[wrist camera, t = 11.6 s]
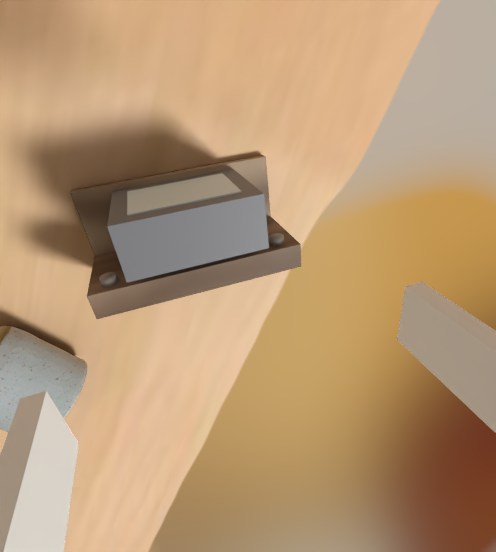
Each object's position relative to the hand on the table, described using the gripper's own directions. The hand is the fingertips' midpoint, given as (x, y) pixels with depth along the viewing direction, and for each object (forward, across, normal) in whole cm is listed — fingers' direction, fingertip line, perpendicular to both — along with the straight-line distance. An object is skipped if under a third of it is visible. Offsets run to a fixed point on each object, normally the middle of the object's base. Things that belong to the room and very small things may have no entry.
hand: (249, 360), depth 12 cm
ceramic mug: (+21, -18, -13) cm, 30 cm away
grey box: (+20, 0, 0) cm, 20 cm away
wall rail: (+21, 0, -1) cm, 21 cm away
